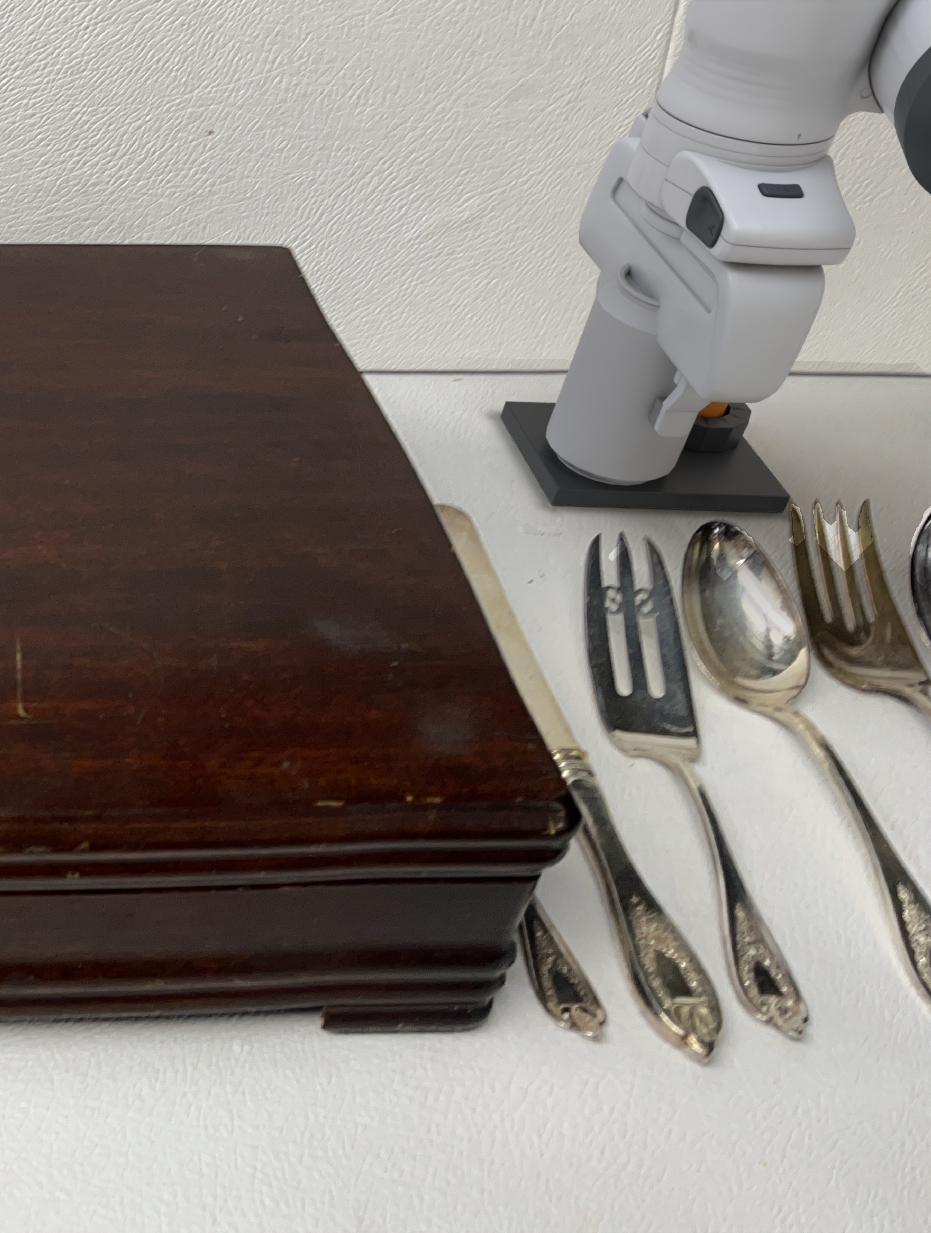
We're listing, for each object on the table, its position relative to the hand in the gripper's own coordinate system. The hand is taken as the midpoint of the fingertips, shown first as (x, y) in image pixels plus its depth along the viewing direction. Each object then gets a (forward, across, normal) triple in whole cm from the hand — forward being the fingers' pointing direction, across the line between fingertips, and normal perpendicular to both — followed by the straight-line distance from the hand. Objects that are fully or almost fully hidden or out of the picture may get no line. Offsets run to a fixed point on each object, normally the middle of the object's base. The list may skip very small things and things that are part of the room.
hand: (634, 387), depth 94 cm
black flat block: (+6, -2, +3) cm, 7 cm away
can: (+5, 0, 0) cm, 5 cm away
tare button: (+4, -4, +7) cm, 9 cm away
